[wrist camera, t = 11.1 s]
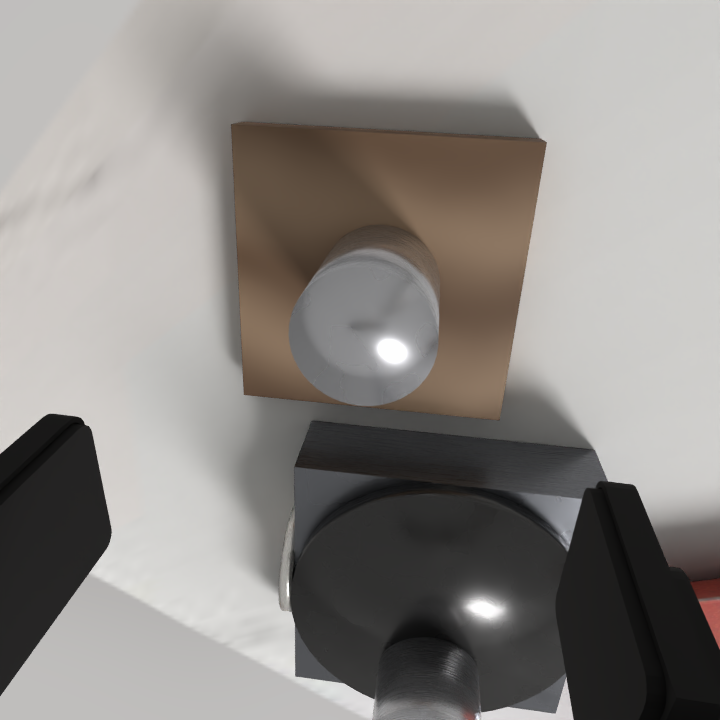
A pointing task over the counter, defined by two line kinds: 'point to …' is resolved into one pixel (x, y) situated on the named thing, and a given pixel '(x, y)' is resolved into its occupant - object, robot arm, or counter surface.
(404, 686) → the cylinder
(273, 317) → the walnut board
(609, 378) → the counter surface
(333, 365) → the cylinder
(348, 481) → the scale
